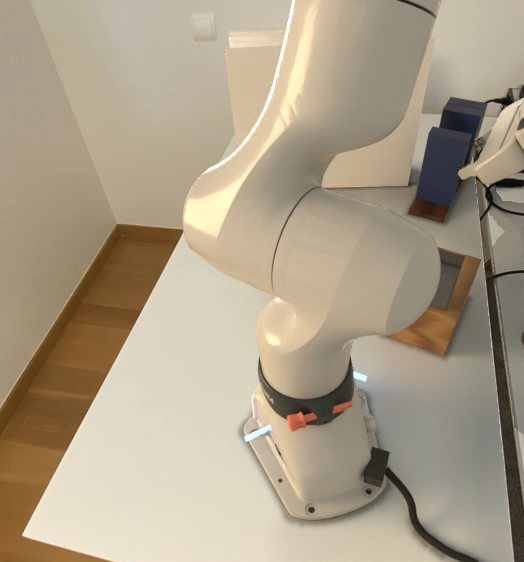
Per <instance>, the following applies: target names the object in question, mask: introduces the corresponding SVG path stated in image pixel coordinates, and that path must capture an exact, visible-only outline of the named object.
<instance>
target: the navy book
mask: <svg viewBox="0 0 524 562" xmlns="http://www.w3.org/2000/svg"><path fill="white" fill-rule="evenodd" d="M471 136H472V134H469V133H464V132H459V131H454V130H449V129H444V128H439V126H432V127H431V128H430V130H429V131H428V134H427V139H426V143H425V144H426V145H425V149H424V154H423V159H422V163H421V169H420V173H419V179H418V183H417V187H416V192H415V198H416V199H420V200H424V201H428V202H432V203H436V204H440V205H444V206H448V207H450V206H451V204H452V202H453V200H454V197H455V193H456V190H457V186H458V183H459V179H460V176H459V175H458V172H459V170H460V168H461V167H462V166H463V165H464V161H465V158H466V154H467V150H468V147H469V143H470V140H471ZM415 198H414V199H415ZM454 201H455V200H454ZM453 203H454V202H453ZM452 205H453V204H452ZM451 207H452V206H451Z"/></svg>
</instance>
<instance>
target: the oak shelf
mask: <svg viewBox="0 0 524 562" xmlns="http://www.w3.org/2000/svg"><path fill="white" fill-rule="evenodd" d="M437 247H438V249H441V250H445V251H448V252H452V253H455V254H459V255H462V256H465V259H464V262H463V265H462V267H461V270H460V273H459V276H458V279H457V282H456V285H455V288H454V291H453V294H452V296H451V299H450V301H449V303H448V305H447V308H446V310H445V311H443V310H440V309H437V308H433V307H430V306H429V307H428V308H427V310H426V311H425V312H424V313H423V314H422V315H421V316H420V317H419V318H418V319H417V320H416V321H415V322H414V323H412V324H411V325H410V326H408V327H407V328H405V329H403V330H401V331H399V332H397V333H394V334H391V335H385V336H386V337H390V338H392V339H395V340H397V341H401V342H403V343H406V344H409V345H412V346H415V347H417V348H420V349H424V350H426V351H430V352H432V353H435V354H438V355H441V356H443V357H444V356H445V355H446V354H445V353H446V351H447V350H448V348H449V344H450V342H451V339H452V337H453V334H454V333H455V330H456V327H457V324H458V321H459V319H460V317H461V315H462V312H463V310H464V307H465V306H466V305H465V304H466V302H467V299H468V297H469V295H470V292H471V289H472V287H473V284H474V281H475V279H476V276H477V273H478V272H479V271H478V270H479V268H480V265H481V262H482V260H483V259H482V258H480V257H476V256H472V255H469V254H465V253H462V252H458V251H454V250H451V249H447V248H443V247H440V246H437Z"/></svg>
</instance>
